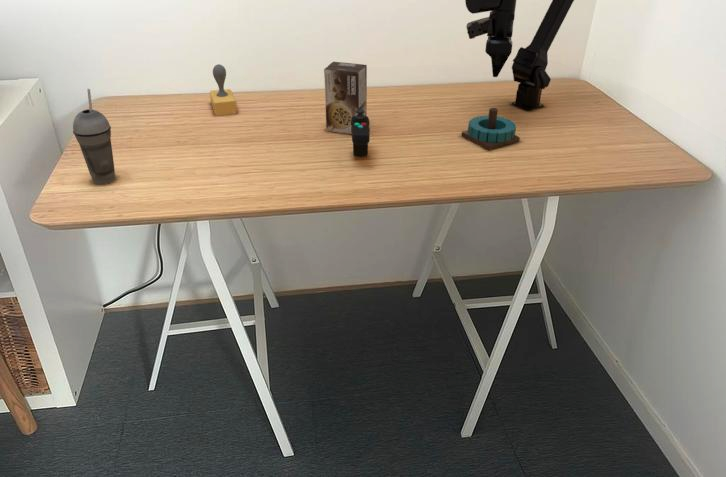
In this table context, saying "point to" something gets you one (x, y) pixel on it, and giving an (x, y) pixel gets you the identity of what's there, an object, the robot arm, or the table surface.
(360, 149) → the controller
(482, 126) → the hoop
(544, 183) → the table surface
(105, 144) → the beverage cup
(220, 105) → the rubber stamp
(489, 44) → the robot arm
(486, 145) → the stand
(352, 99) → the coffee box
